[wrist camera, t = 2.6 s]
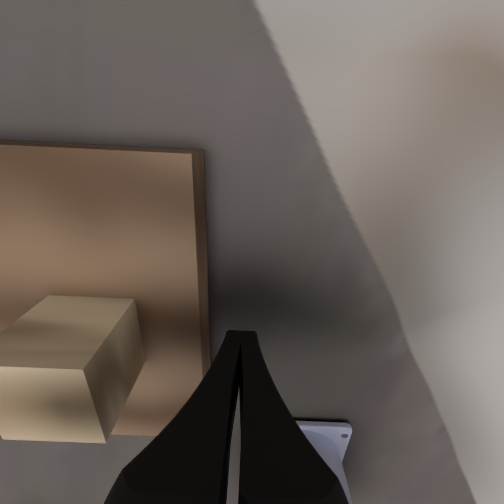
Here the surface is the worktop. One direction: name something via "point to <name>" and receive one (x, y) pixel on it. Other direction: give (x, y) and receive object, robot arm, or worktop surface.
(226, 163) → the worktop surface
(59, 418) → the beech block
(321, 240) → the worktop surface
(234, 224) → the worktop surface
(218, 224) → the worktop surface
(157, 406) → the board
